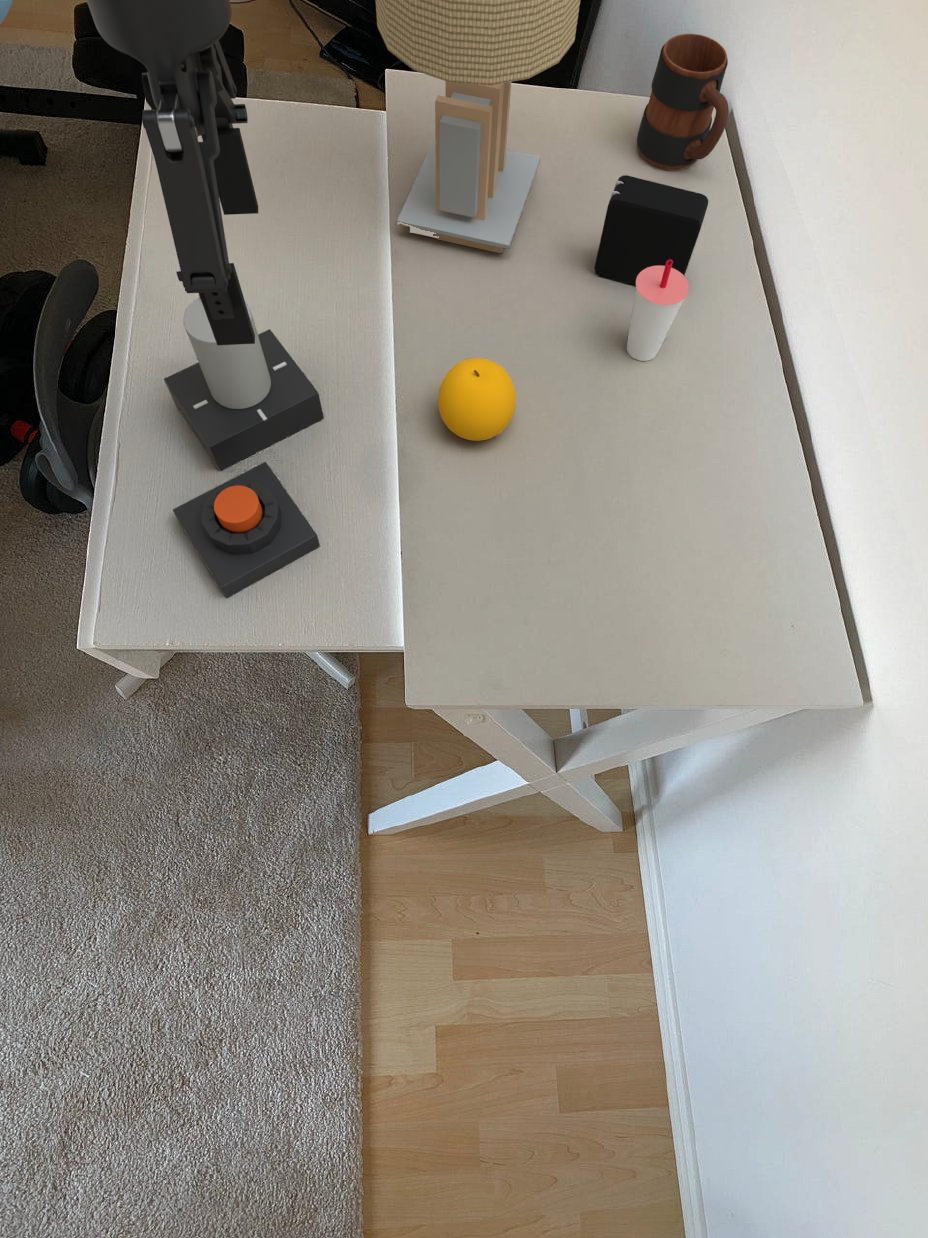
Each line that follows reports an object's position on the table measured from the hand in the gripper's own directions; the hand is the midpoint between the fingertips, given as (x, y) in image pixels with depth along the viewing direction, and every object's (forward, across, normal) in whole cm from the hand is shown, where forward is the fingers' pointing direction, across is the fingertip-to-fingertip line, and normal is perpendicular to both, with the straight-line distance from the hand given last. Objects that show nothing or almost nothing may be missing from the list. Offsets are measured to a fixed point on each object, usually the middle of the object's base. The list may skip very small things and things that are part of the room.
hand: (239, 273), depth 60 cm
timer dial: (+18, +5, +4) cm, 19 cm away
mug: (+22, +42, -49) cm, 68 cm away
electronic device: (+22, +22, -40) cm, 51 cm away
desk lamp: (+22, +34, -22) cm, 46 cm away
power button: (+18, -10, +4) cm, 21 cm away
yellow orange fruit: (+22, +2, -19) cm, 29 cm away
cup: (+22, +11, -39) cm, 46 cm away
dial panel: (+22, +5, +4) cm, 23 cm away
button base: (+22, -10, +4) cm, 24 cm away
